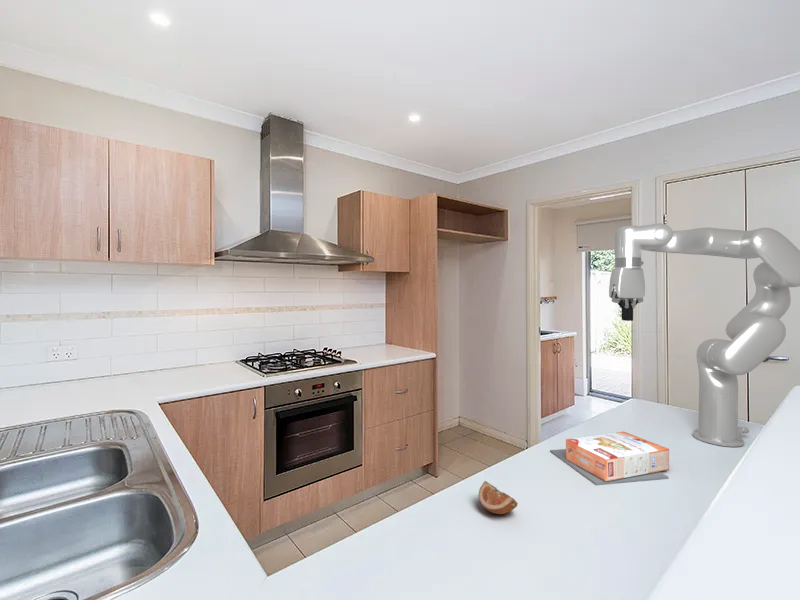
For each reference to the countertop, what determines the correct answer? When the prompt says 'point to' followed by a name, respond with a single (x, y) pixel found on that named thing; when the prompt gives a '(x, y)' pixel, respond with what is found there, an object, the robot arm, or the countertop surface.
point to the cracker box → (617, 455)
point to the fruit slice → (495, 499)
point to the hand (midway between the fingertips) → (627, 320)
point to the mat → (598, 481)
